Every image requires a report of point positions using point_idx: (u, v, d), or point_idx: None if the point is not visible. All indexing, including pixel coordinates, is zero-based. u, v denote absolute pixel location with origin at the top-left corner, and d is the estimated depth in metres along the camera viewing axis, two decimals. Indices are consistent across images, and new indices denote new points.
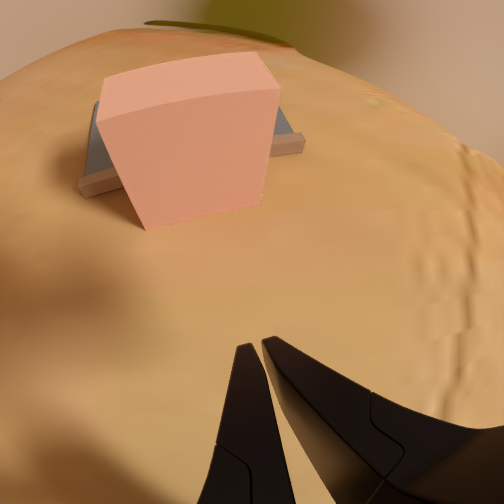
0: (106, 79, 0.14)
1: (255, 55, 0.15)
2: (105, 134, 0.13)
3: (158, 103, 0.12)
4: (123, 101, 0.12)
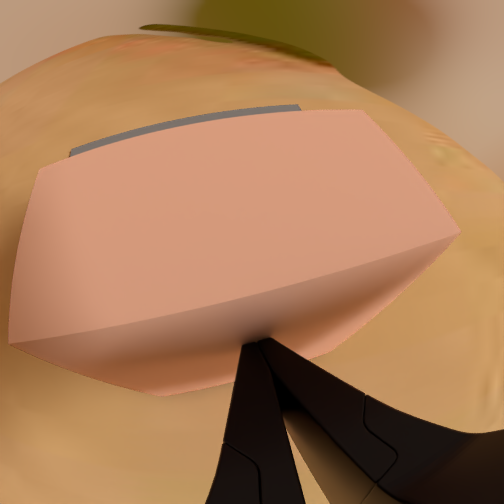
0: (41, 174, 0.06)
1: (368, 120, 0.07)
2: (46, 356, 0.05)
3: (163, 304, 0.04)
4: (64, 272, 0.04)
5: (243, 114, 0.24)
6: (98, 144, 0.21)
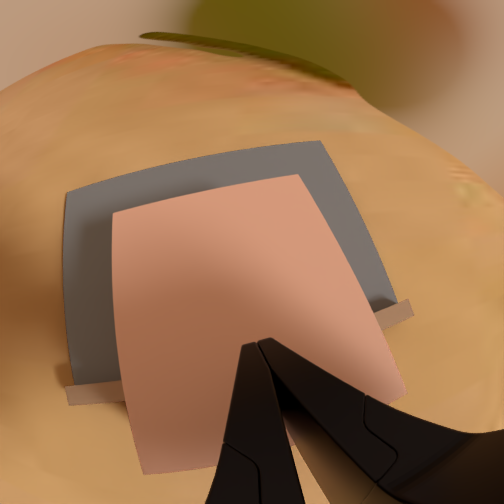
0: None
1: None
2: (117, 227, 0.13)
3: (176, 199, 0.14)
4: None
5: (261, 154, 0.22)
6: (97, 188, 0.20)
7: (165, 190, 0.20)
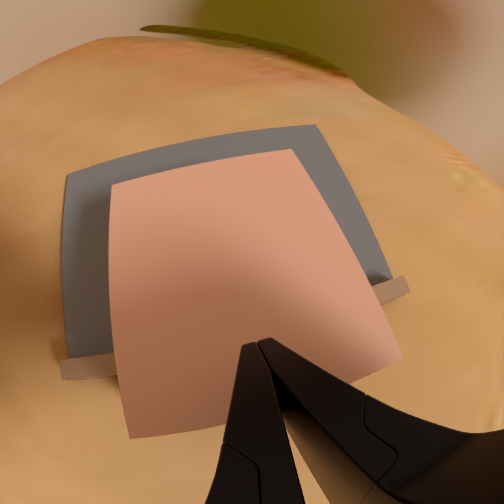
0: None
1: None
2: (115, 197, 0.13)
3: (173, 171, 0.14)
4: None
5: (257, 137, 0.22)
6: (97, 170, 0.20)
7: (164, 170, 0.20)
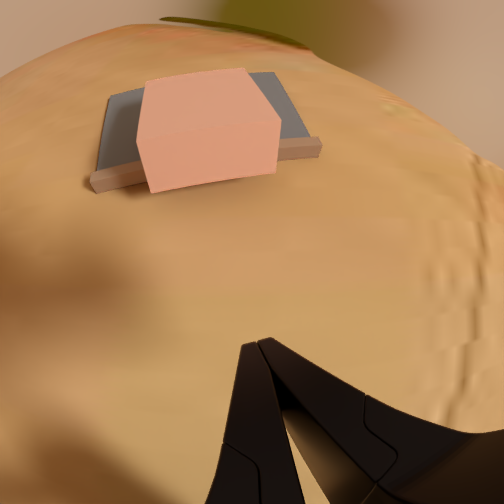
0: None
1: None
2: (148, 84, 0.23)
3: (179, 76, 0.24)
4: None
5: None
6: (130, 93, 0.29)
7: None
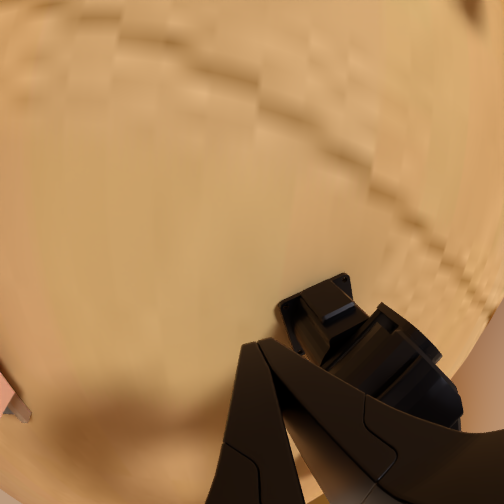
0: None
1: None
2: None
3: None
4: None
5: None
6: None
7: None
